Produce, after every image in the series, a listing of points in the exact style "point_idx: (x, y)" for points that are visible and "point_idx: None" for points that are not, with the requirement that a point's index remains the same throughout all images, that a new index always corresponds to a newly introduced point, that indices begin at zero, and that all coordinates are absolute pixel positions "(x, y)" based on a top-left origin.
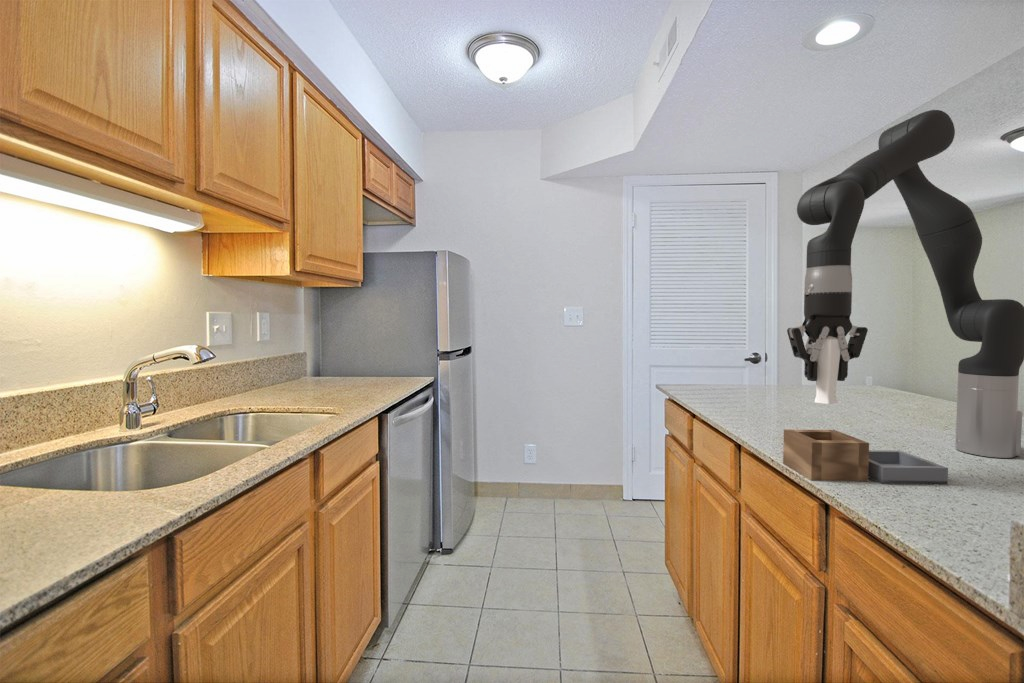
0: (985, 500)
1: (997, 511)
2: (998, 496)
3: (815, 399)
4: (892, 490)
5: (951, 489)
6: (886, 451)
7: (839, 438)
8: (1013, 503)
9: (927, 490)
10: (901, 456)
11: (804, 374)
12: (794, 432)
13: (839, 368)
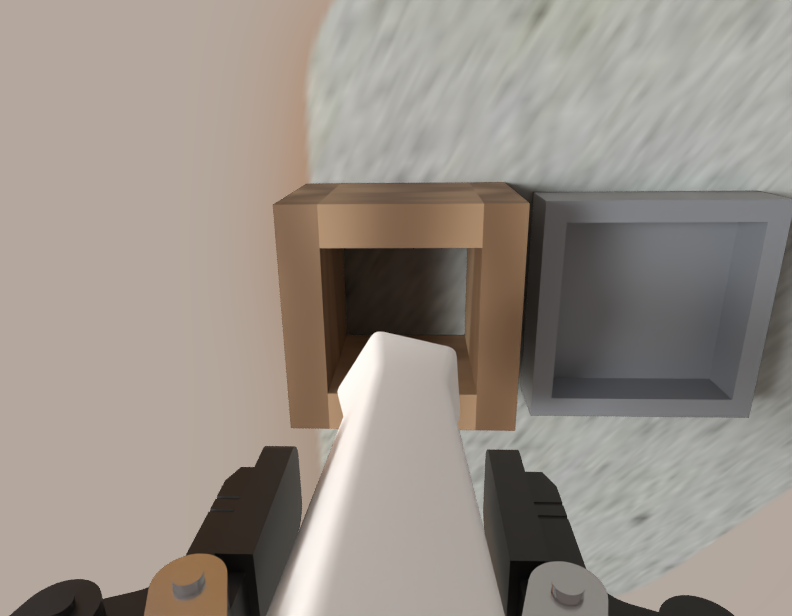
0: (699, 496)
1: (651, 554)
2: (768, 471)
3: (340, 399)
4: (508, 435)
5: (690, 425)
6: (717, 218)
7: (478, 307)
8: (750, 512)
9: (611, 433)
10: (756, 232)
11: (225, 481)
12: (299, 263)
13: (495, 574)
